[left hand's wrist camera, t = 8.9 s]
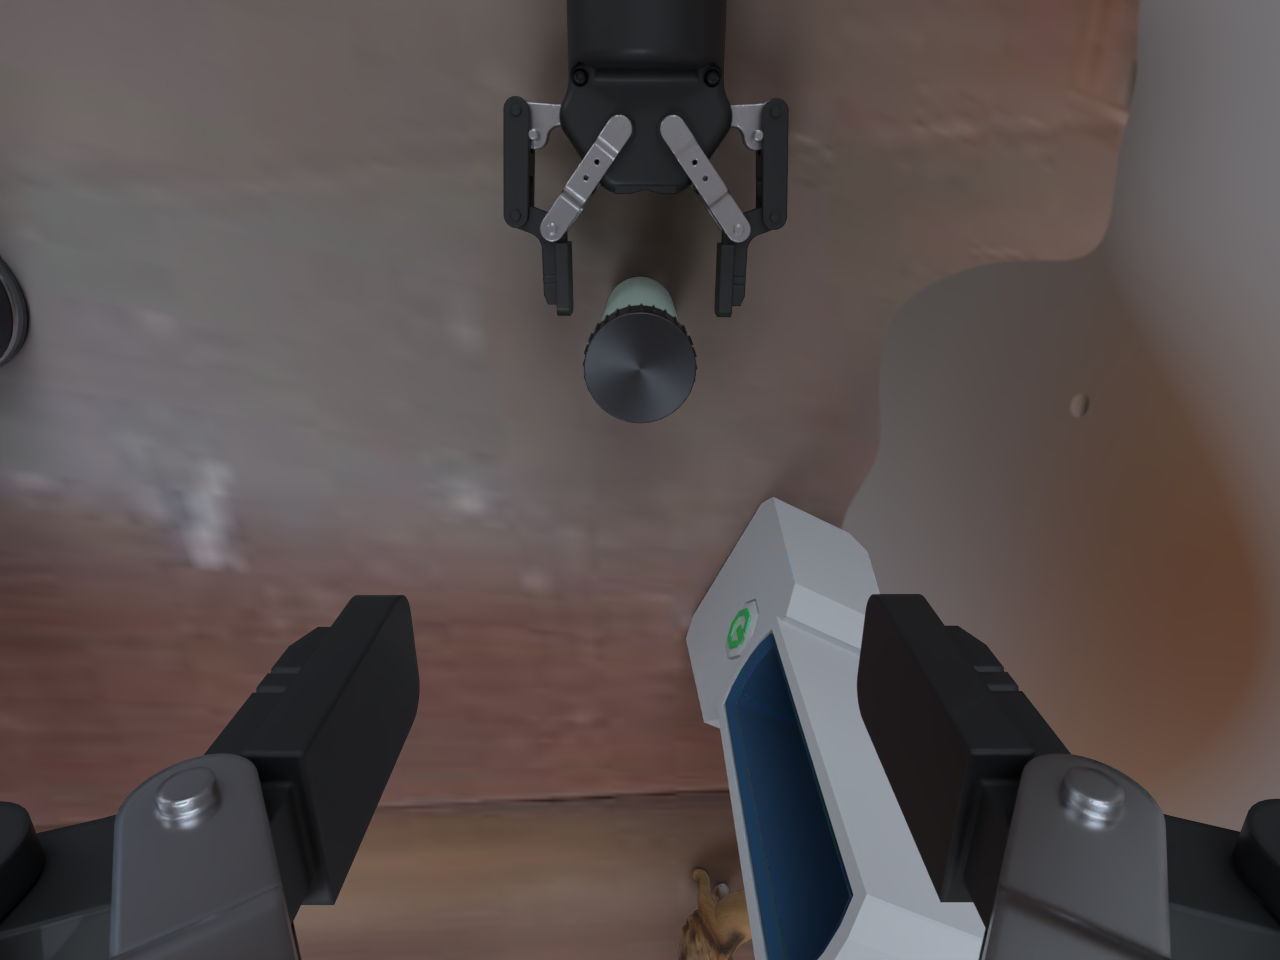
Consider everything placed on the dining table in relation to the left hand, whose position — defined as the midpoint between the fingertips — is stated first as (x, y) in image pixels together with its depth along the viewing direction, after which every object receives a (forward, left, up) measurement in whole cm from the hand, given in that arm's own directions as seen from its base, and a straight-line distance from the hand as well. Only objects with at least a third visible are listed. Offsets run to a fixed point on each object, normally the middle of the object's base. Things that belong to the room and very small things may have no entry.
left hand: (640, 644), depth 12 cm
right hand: (-1, +1, -30) cm, 30 cm away
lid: (0, 0, -20) cm, 20 cm away
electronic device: (+21, 0, -37) cm, 43 cm away
